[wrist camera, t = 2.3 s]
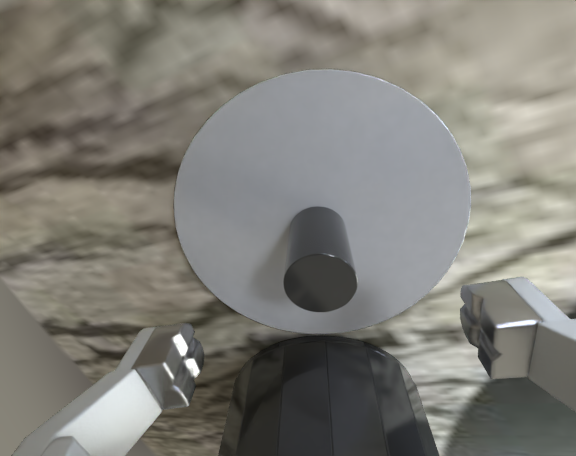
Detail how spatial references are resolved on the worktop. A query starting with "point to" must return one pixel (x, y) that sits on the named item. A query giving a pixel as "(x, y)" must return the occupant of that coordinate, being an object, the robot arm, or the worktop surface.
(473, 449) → the worktop surface
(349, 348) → the pot
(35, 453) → the robot arm
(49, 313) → the worktop surface
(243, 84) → the worktop surface
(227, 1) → the worktop surface
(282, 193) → the pot lid
